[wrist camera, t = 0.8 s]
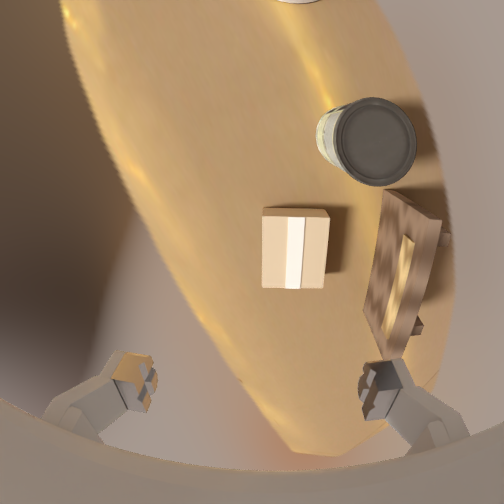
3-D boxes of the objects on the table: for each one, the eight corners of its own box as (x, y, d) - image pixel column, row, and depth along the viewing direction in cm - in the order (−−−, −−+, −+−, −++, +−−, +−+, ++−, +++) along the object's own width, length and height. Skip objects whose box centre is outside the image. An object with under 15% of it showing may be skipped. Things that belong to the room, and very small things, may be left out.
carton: (263, 207, 47) (262, 216, 42) (324, 208, 46) (330, 218, 42) (262, 272, 52) (261, 288, 47) (318, 273, 51) (322, 288, 46)
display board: (381, 189, 44) (426, 219, 29) (418, 192, 43) (470, 222, 29) (361, 310, 54) (384, 368, 39) (394, 309, 53) (422, 363, 39)
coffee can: (346, 92, 38) (377, 79, 25) (388, 140, 40) (431, 149, 28) (300, 135, 41) (314, 137, 29) (345, 182, 44) (374, 204, 31)
